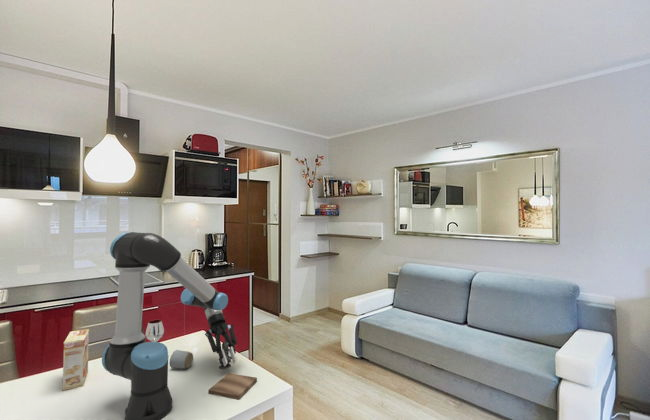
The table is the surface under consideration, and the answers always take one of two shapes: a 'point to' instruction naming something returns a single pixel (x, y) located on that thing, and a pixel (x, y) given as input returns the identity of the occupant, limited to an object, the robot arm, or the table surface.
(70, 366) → the coffeecake box
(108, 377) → the table surface
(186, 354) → the ceramic mug
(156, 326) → the wineglass
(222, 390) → the walnut board
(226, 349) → the weathered metal finial
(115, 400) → the table surface
